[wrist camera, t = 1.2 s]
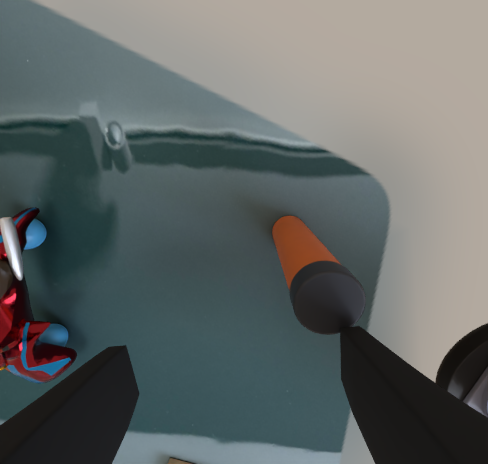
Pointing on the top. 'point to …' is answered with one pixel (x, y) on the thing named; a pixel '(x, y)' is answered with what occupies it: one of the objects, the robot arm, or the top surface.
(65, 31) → the top surface
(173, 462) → the button housing
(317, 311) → the marker
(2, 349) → the hoverbike
